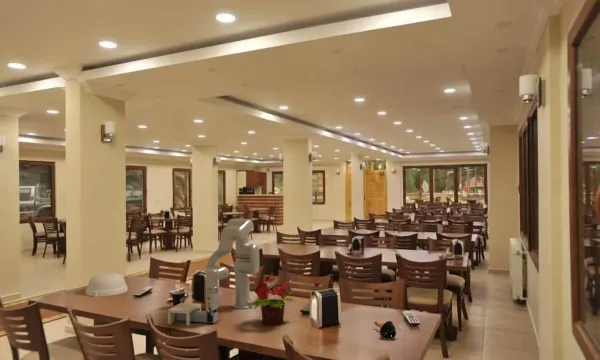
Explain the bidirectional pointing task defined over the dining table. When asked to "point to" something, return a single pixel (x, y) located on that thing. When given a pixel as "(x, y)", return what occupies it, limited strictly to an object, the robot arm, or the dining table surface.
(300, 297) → the dining table surface
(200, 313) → the grey rectangular block
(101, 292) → the dome cover
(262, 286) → the potted plant
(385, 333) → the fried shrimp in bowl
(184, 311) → the low shelf
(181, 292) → the coffee mug
